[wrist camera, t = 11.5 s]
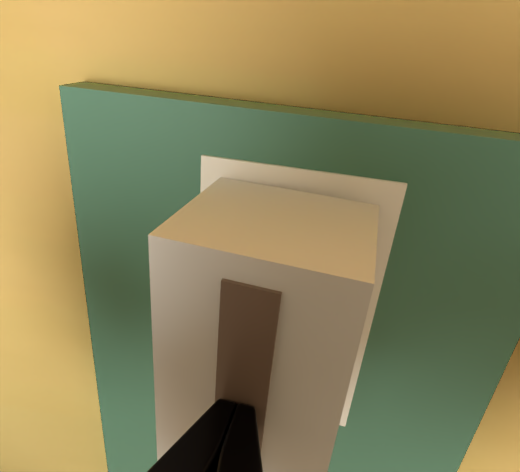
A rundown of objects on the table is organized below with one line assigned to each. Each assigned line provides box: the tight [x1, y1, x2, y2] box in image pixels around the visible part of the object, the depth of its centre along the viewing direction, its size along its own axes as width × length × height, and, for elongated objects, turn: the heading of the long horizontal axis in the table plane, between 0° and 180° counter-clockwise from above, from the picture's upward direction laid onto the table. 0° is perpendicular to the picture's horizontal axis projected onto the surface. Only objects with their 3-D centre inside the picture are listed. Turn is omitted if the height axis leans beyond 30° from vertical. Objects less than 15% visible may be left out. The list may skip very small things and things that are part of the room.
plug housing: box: [148, 177, 379, 472], centre depth 11 cm, size 8×4×4 cm, turn 175°
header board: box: [59, 82, 520, 472], centre depth 14 cm, size 20×14×4 cm
